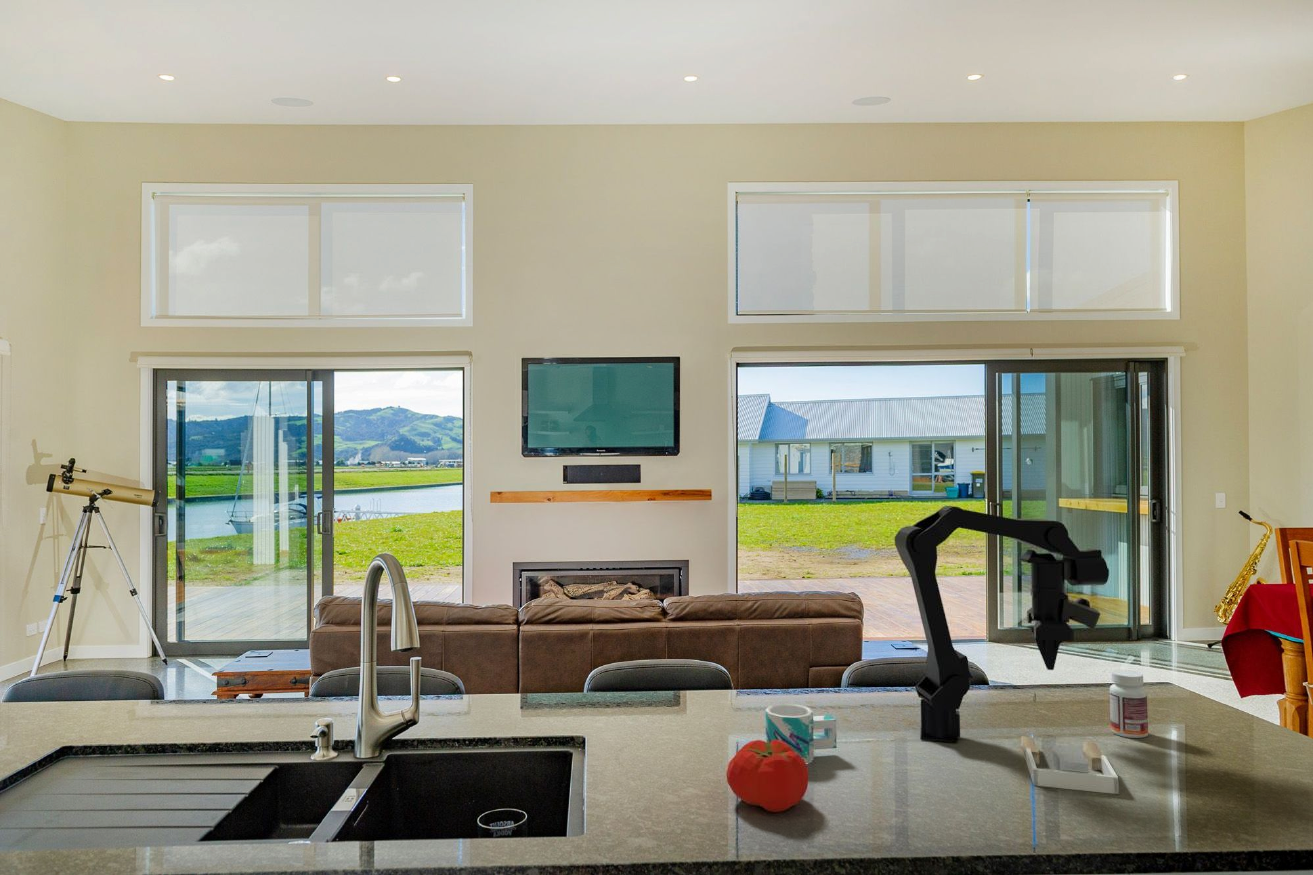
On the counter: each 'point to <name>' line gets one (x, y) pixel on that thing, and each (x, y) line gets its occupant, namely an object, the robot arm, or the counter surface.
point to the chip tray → (1074, 777)
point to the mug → (800, 729)
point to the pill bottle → (1128, 704)
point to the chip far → (1064, 752)
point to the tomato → (768, 775)
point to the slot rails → (1089, 751)
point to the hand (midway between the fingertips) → (1050, 669)
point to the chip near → (1071, 763)
